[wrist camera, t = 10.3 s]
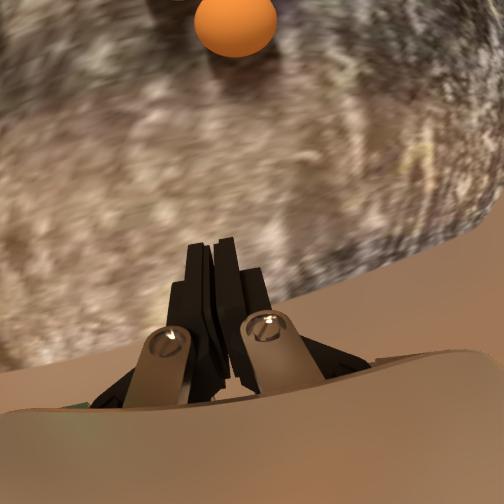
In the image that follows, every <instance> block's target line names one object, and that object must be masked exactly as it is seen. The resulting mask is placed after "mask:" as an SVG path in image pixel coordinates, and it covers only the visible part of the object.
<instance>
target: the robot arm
mask: <svg viewBox="0 0 504 504" xmlns="http://www.w3.org/2000/svg"><path fill="white" fill-rule="evenodd" d="M228 354H229V356H228ZM229 357H230V361H231V365H232V368H233V372H234V375H235V377H239V378H240V381H241V385H243V386H245V387H246V388H248V389H250V390H252V391H254V393H255V395H250V396H244V397H237V398H231V399H224V400H217V401H215V397H214V395H215V394H216V393H217V392H218V391H219V390H220V389H225V388H226V385H225V379H229V378H230V377H231V376H230V366H229ZM0 504H504V366H503V365H502V364H500V363H499V362H498V361H497V360H496V359H495V358H493V357H491V356H490V355H489V354H486V353H484V352H481V351H476V350H467V349H459V350H458V349H457V350H456V349H455V350H442V351H434V352H427V353H419V354H412V355H405V356H396V357H387V358H377V359H375V362H372V363H367V362H366V361H365V360H363V359H361V358H359V357H357V356H354V355H351V354H348V353H345V352H343V351H340V350H338V349H335V348H332V347H330V346H327V345H324V344H321V343H319V342H316V341H314V340H311V339H309V338H306V337H304V336H301V335H299V334H298V332H297V330H296V329H295V327H294V325H293V324H292V322H291V320H290V319H289V318H288V316H287V315H285V314H283V313H281V312H278V311H275V310H272V308H271V304H270V301H269V297H268V293H267V290H266V286H265V283H264V279H263V275H262V272H261V268H260V267H258V268H252V269H247V270H241V271H239V266H238V260H237V255H236V249H235V244H234V239H233V237H229V238H224V239H219V243H218V244H214V263H213V258H212V254H211V250H210V246H209V245H207V246H204V244H203V242H202V243H196V244H191V245H188V250H187V259H186V269H185V279H184V281H178V282H173V283H172V287H171V293H170V300H169V308H168V315H167V323H166V327H163V328H160V329H158V330H156V331H154V332H153V333H152V334H151V335H150V336H149V337H148V338H147V339H146V341H145V343H144V345H143V348H142V351H141V354H140V357H139V359H138V362H137V365H136V367H135V368H134V369H132V370H131V371H130V372H128V373H127V374H126V375H125V376H124V377H122V378H121V379H120V380H119V381H117V382H116V383H115V384H114V385H112V386H111V387H110V388H108V389H107V390H106V391H105V392H103V393H102V394H101V395H100V396H98V397H97V398H96V399H95V400H94V402H93V403H92V405H90V404H89V403H88V402H85V403H81V404H76V405H72V406H67V407H62V408H32V409H21V410H14V411H9V412H6V413H4V414H0Z"/></svg>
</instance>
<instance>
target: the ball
mask: <svg viewBox="0 0 504 504" xmlns="http://www.w3.org/2000/svg"><path fill="white" fill-rule="evenodd" d="M194 25H195V30H196V33H197V36H198V38H199V39H200V41H201V42H202V43H203V45H204V46H206V47H207V48H208V49H209V50H211V51H212V52H214V53H216V54H219V55H222V56H226V57H244V56H248V55H251V54H253V53H256V52H258V51H259V50H261V49H262V48H263V47H265V46H266V45H267V44H268V43H269V42H270V40H271V39H272V37H273V35H274V33H275V30H276V26H277V15H276V11H275V9H274V7H273V5H272V3H271V2H270V0H203V1H202V2H201V3H200V5H199V7H198V9H197V11H196V14H195V21H194Z"/></svg>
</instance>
